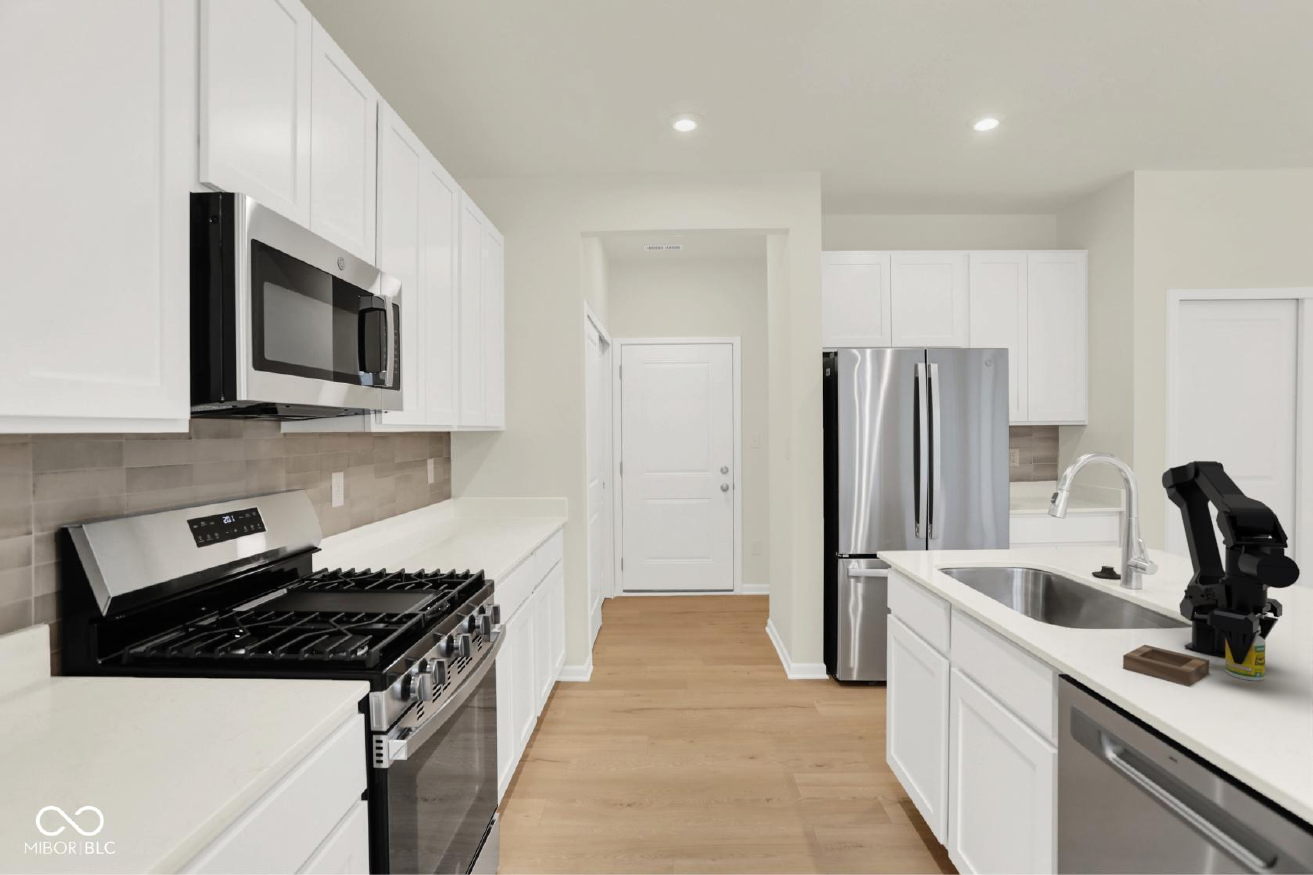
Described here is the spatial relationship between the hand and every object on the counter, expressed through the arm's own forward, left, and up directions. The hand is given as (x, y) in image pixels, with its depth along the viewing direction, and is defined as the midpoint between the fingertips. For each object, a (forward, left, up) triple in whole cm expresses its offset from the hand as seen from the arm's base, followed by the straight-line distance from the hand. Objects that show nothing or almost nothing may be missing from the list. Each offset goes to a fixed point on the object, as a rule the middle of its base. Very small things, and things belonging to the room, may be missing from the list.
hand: (1244, 659), depth 117 cm
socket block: (+9, -9, -3) cm, 13 cm away
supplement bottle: (0, 0, -3) cm, 3 cm away
